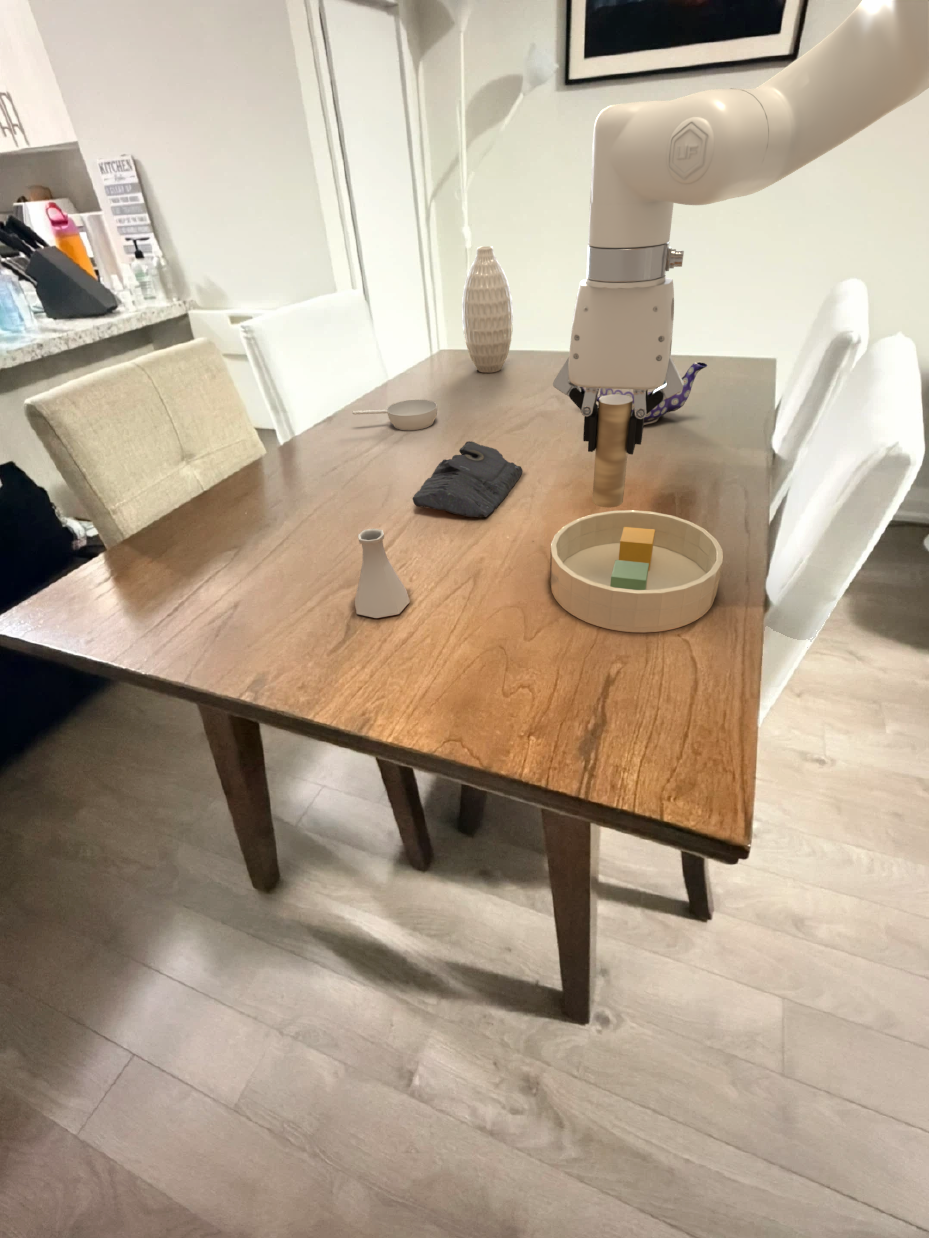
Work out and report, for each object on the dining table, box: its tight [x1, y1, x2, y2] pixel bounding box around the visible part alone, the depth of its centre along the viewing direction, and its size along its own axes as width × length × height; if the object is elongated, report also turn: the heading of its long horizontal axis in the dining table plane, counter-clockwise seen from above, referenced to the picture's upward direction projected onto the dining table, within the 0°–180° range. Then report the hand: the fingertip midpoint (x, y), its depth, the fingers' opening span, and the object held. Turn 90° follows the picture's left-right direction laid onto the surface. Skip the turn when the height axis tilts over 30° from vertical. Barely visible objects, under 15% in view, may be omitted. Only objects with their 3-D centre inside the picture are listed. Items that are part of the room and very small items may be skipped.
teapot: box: [582, 361, 708, 426], centre depth 128 cm, size 25×15×15 cm, turn 61°
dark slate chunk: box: [412, 440, 524, 518], centre depth 108 cm, size 15×22×5 cm
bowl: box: [549, 509, 724, 634], centre depth 81 cm, size 20×20×6 cm
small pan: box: [351, 398, 438, 431], centre depth 137 cm, size 11×18×4 cm, turn 97°
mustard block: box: [619, 527, 655, 571], centre depth 84 cm, size 4×4×4 cm
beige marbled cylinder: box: [591, 394, 633, 509], centre depth 73 cm, size 4×4×12 cm
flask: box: [354, 528, 411, 619], centre depth 80 cm, size 7×7×10 cm
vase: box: [461, 245, 514, 374], centre depth 161 cm, size 13×13×28 cm
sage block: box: [610, 560, 649, 590], centre depth 77 cm, size 4×4×4 cm
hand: (611, 447), depth 73 cm, fingers closed on beige marbled cylinder, 3 cm apart
